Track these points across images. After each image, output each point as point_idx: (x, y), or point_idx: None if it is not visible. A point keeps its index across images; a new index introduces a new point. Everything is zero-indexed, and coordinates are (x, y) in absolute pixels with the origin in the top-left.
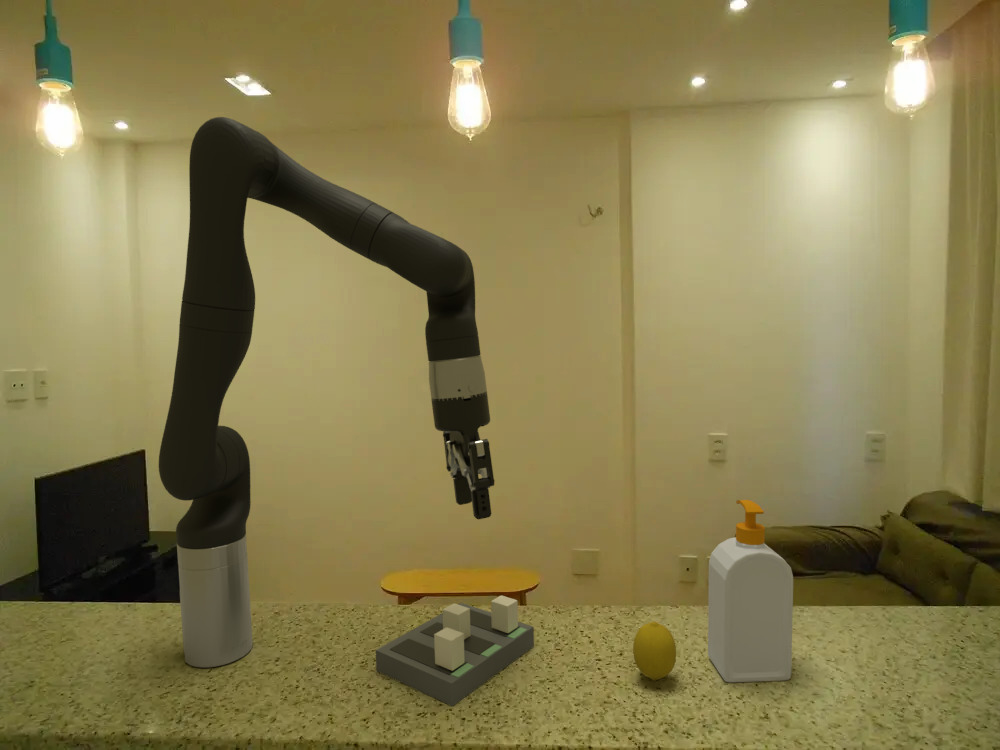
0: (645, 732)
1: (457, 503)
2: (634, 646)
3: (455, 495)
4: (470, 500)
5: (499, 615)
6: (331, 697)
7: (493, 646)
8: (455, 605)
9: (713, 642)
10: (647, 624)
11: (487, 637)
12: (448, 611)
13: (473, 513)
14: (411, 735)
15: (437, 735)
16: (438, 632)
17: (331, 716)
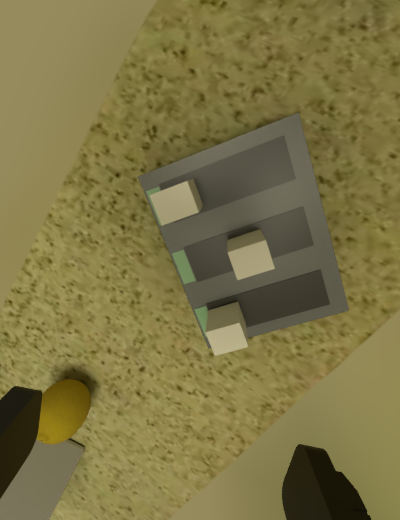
0: (11, 318)
1: (310, 446)
2: (67, 398)
3: (334, 481)
4: (283, 496)
5: (222, 317)
6: (266, 21)
7: (191, 275)
8: (264, 266)
9: (57, 462)
10: (51, 432)
11: (221, 283)
12: (251, 244)
13: (30, 400)
14: (118, 99)
15: (102, 129)
16: (189, 190)
17: (217, 5)
